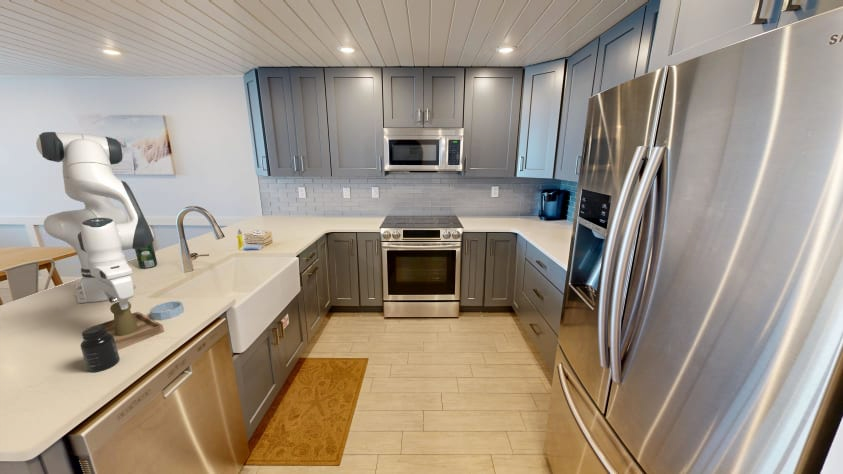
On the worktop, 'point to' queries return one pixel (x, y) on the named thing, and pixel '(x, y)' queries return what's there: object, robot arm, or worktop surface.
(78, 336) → the worktop surface
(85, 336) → the supplement bottle
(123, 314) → the cork
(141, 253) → the coffee jar
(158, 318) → the light blue shallow dish
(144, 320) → the tray
